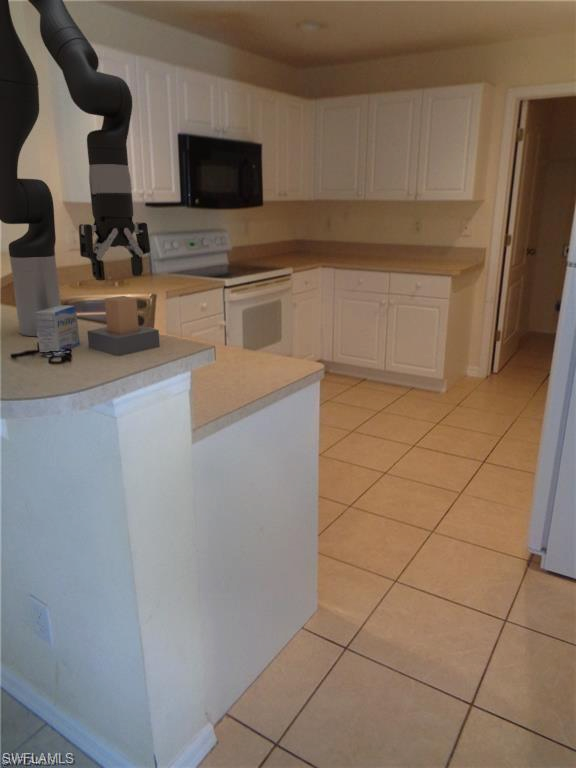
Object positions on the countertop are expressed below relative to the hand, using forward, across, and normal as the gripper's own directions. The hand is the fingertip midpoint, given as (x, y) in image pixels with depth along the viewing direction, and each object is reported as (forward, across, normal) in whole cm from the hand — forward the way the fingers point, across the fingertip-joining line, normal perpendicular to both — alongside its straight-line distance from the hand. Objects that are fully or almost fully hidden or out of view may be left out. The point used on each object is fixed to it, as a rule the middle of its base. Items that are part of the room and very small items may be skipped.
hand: (119, 278), depth 111 cm
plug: (+14, 0, 0) cm, 14 cm away
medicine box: (+15, +9, -9) cm, 20 cm away
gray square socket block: (+15, 0, 0) cm, 15 cm away
